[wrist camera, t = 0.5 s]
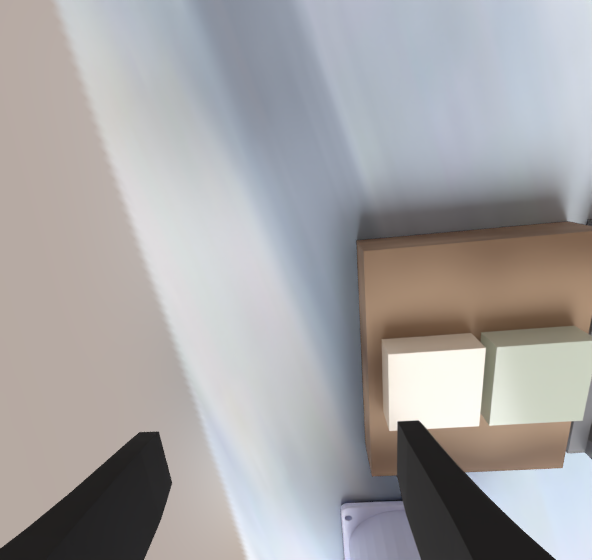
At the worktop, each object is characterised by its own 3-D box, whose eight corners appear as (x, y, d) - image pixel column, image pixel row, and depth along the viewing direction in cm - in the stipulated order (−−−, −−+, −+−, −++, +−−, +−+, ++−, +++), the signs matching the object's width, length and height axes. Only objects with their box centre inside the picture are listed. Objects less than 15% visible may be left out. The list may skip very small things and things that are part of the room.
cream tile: (465, 406, 18) (479, 426, 17) (383, 411, 19) (389, 430, 17) (471, 332, 17) (485, 347, 16) (381, 339, 17) (388, 354, 16)
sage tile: (561, 400, 18) (582, 420, 17) (475, 405, 18) (489, 425, 17) (574, 325, 17) (599, 340, 15) (481, 332, 17) (497, 347, 16)
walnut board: (534, 435, 22) (562, 468, 20) (365, 444, 23) (372, 476, 20) (567, 221, 18) (608, 229, 15) (356, 240, 18) (363, 251, 16)
